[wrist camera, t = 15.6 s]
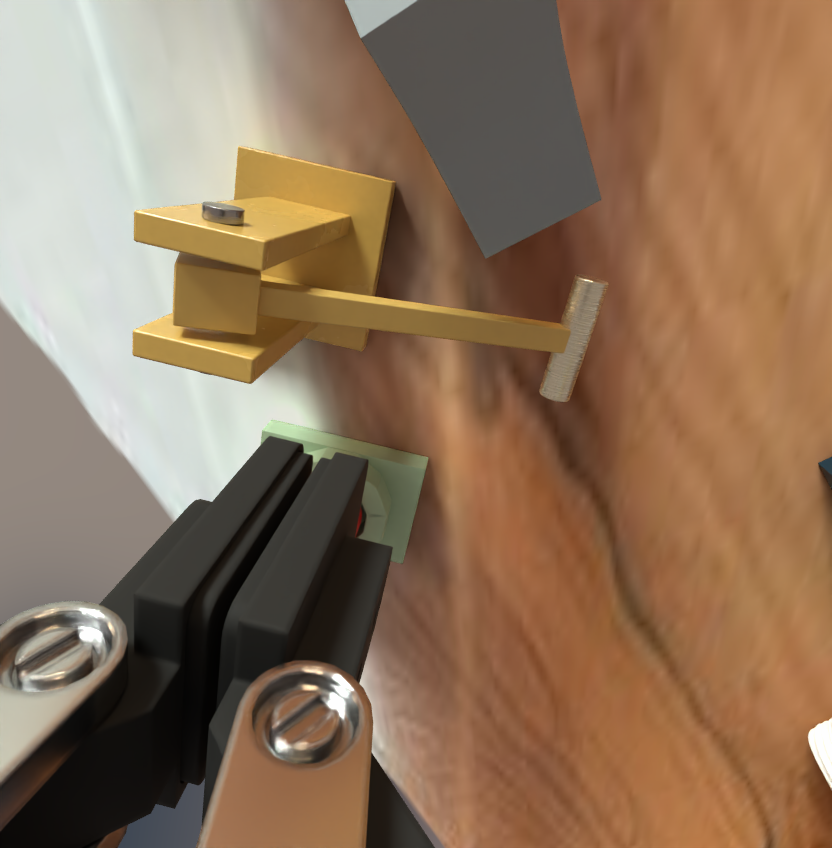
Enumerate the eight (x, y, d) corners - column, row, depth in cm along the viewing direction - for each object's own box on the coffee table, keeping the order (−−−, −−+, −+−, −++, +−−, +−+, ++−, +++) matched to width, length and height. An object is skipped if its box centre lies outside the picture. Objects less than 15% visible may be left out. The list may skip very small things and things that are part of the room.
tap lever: (592, 274, 27) (621, 288, 25) (555, 387, 29) (579, 408, 27) (182, 201, 21) (176, 210, 19) (176, 347, 23) (170, 370, 21)
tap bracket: (396, 181, 31) (330, 187, 18) (366, 346, 34) (293, 447, 22) (246, 146, 31) (77, 128, 18) (232, 314, 34) (83, 396, 22)
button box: (428, 457, 37) (422, 484, 33) (406, 548, 39) (398, 582, 36) (271, 419, 37) (250, 442, 34) (260, 513, 40) (240, 543, 36)
